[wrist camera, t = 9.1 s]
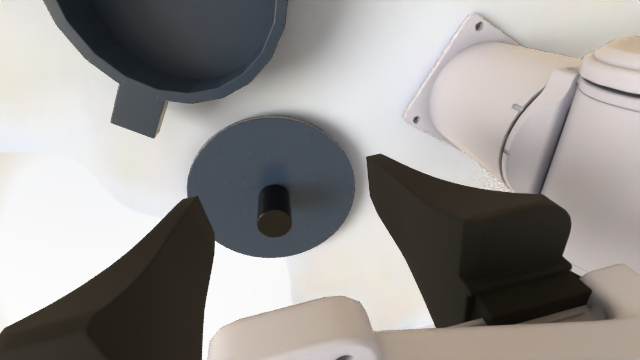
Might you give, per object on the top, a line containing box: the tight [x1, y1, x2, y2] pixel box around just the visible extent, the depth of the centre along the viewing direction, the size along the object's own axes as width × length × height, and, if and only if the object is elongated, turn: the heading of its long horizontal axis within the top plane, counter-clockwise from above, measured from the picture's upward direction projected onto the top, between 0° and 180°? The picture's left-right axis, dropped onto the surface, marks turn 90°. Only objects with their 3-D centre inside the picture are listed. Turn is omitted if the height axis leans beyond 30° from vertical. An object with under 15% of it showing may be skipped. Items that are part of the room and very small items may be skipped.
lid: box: [187, 116, 355, 258], centre depth 23 cm, size 13×13×4 cm
